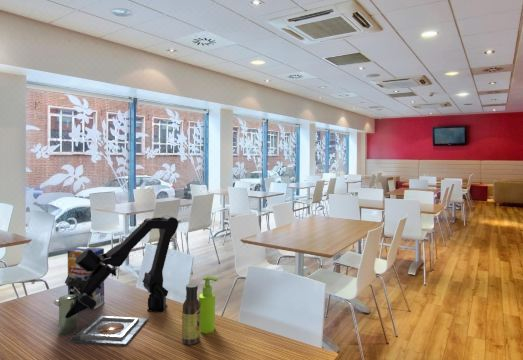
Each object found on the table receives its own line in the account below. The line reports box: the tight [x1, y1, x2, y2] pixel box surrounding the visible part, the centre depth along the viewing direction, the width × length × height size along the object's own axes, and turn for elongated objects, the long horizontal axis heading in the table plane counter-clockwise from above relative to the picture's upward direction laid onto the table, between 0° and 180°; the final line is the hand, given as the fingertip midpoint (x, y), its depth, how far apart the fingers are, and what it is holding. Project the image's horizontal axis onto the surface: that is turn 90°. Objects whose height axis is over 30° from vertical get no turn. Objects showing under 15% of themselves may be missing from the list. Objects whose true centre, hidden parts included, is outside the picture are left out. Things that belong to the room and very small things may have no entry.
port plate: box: [68, 315, 149, 347], centre depth 137 cm, size 20×20×2 cm
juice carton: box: [67, 246, 105, 311], centre depth 159 cm, size 12×8×24 cm, turn 79°
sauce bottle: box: [181, 283, 201, 345], centre depth 131 cm, size 6×6×20 cm
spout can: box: [53, 294, 79, 336], centre depth 136 cm, size 8×6×13 cm
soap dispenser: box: [198, 276, 219, 334], centre depth 139 cm, size 6×7×20 cm
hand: (64, 314), depth 135 cm, fingers open, 6 cm apart
